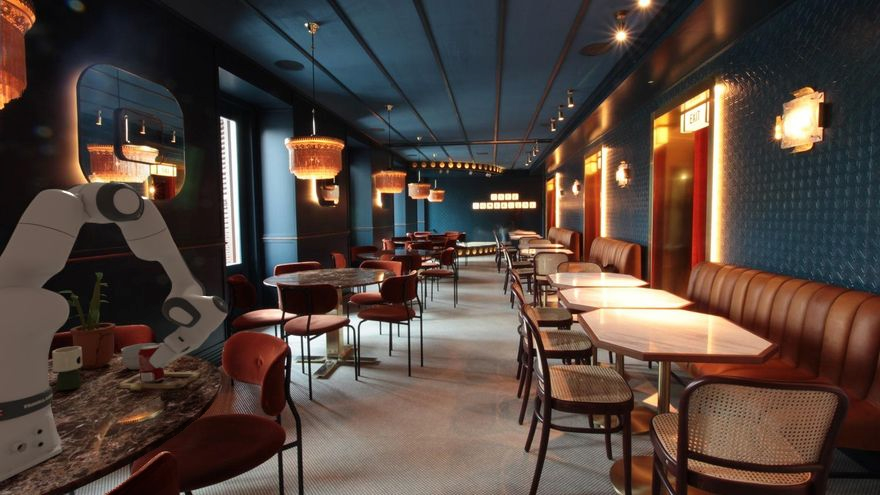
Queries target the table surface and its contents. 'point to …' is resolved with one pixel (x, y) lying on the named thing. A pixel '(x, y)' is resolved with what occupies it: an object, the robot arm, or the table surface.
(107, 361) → the potted plant
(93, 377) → the table surface
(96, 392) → the table surface
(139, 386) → the wooden rectangular frame
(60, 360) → the character mug
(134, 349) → the teacup
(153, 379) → the soda can
